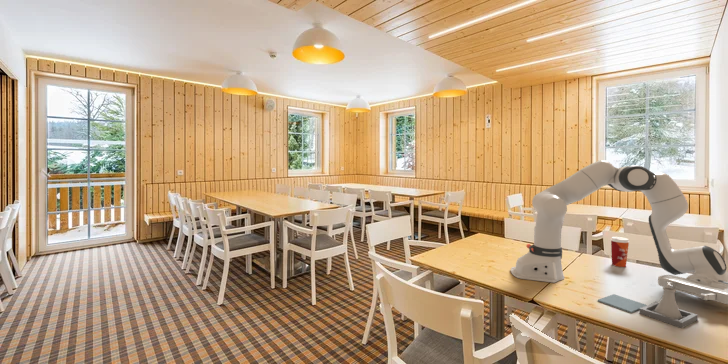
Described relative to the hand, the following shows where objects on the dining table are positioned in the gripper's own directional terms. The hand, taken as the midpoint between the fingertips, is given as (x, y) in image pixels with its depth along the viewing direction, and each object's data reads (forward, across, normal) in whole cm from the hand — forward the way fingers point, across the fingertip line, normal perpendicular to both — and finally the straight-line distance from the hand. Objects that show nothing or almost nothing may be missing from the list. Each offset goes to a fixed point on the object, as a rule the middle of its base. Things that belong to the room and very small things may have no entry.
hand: (685, 292), depth 117 cm
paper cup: (-33, -37, +6) cm, 50 cm away
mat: (+15, -12, +6) cm, 20 cm away
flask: (+12, 0, +6) cm, 14 cm away
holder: (+12, 0, +6) cm, 14 cm away
